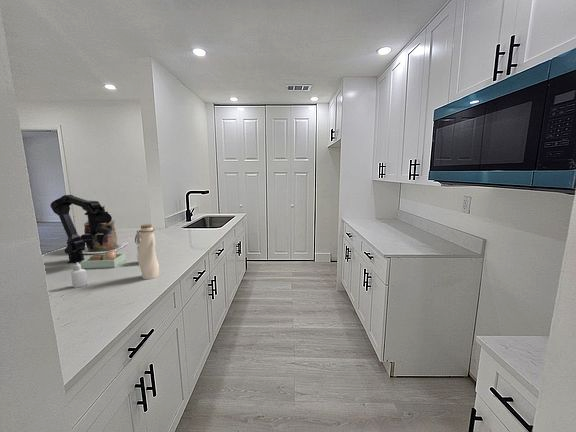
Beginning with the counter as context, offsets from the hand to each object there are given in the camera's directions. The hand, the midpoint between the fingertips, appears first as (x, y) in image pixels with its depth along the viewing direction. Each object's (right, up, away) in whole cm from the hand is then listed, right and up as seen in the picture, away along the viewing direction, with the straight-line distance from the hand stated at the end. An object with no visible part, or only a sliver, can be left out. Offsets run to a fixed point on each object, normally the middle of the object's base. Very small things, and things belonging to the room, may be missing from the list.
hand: (97, 247), depth 162 cm
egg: (+9, -9, +1) cm, 13 cm away
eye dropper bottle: (+14, -15, -31) cm, 37 cm away
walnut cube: (+1, -10, -1) cm, 10 cm away
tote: (+5, -10, 0) cm, 11 cm away
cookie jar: (-18, -6, +31) cm, 36 cm away
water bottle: (+42, -13, -19) cm, 48 cm away
